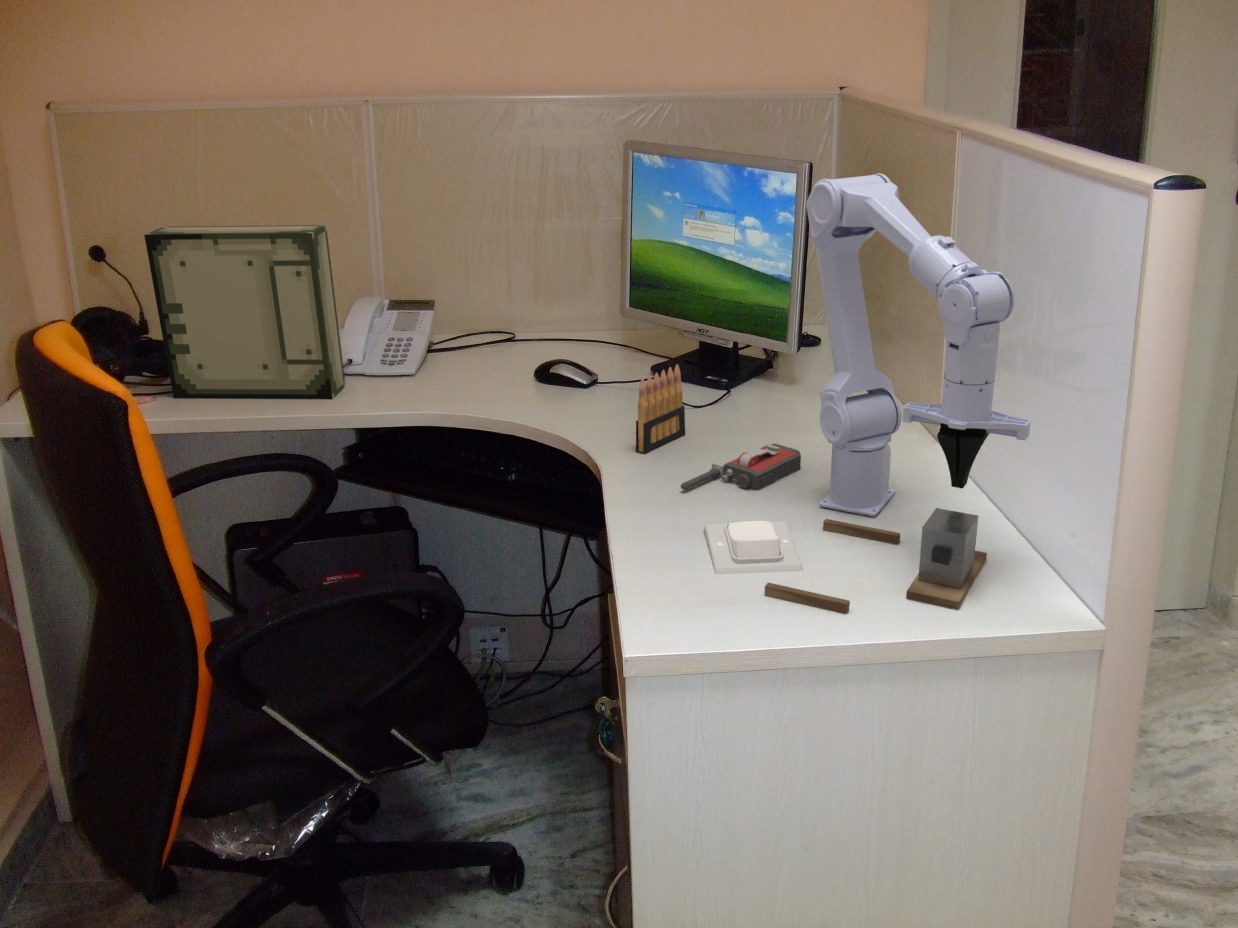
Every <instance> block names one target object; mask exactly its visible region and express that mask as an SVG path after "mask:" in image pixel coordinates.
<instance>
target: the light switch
mask: <svg viewBox="0 0 1238 928" xmlns="http://www.w3.org/2000/svg"><path fill="white" fill-rule="evenodd" d="M704 534H705V535H704V536H705V538H706V543H707V546H708V552H709V554H710V558H711V561H712V566H713V569H714V570H713V571H714V574H715V575H733V574H737V575H738V574H760V573H761V574H762V573H783V572H785V573H786V572H803V570H804V567H803V564H802V561H801V559H800V556H799V552H798V551H797V548H796V545H795V542H794V540H793V536H792V534H791V531H790V528H789V525H788V523H787V521H768V520H749V521H747V520H746V521H745V520H744V521H734V522H728V523H721V524H719V523H718V524H717V523H714V524H706V525H704Z"/></svg>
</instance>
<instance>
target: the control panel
mask: <svg viewBox="0 0 1238 928" xmlns="http://www.w3.org/2000/svg"><path fill="white" fill-rule="evenodd" d="M327 228H328V227H327V225H326V224H319V225H318V224H313V225H312V224H309V225H308V224H307V225H305V224H299V225H298V224H297V225H295V224H294V225H293V224H292V225H290V224H289V225H288V224H287V225H208V226H207V225H206V226H205V225H201V226H200V225H197V226H195V225H194V226H190V225H189V226H184V225H183V226H182V225H181V226H162V227H159V228H157V229H154V230H153V231H149V232H147V233H145V234H144V241H145V246H146V252H147V258H148V264H149V269H150V275H151V282H152V286H153V291H154V297H155V304H156V308H157V313H158V314H157V315H158V318H159V325H160V330H161V337H162V340H163V341H162V342H163V348H164V353H165V358H166V363H167V369H168V376H169V380H170V386H171V392H172V397H173V399H179V400H180V399H189V400H190V399H195V400H196V399H197V400H198V399H199V400H200V399H203V400H204V399H208V400H211V399H213V400H214V399H215V400H219V399H221V400H223V399H224V400H237V399H238V400H334V399H335V398H336V397H337V395H339V393H341V392H342V391H343V390H344V389H345V388H346V379H345V371H344V361H343V354H342V353H343V352H342V345H341V337H340V330H339V322H338V312H337V305H336V304H337V303H336V296H335V287H334V280H333V279H334V278H333V273H332V264H331V261H332V260H331V254H330V246H329V237H328V229H327Z"/></svg>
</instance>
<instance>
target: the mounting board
mask: <svg viewBox="0 0 1238 928" xmlns="http://www.w3.org/2000/svg"><path fill="white" fill-rule="evenodd" d="M987 556H988V552H985V551H980V550H975V556H974V566H973V570H972V572H971V573H970V575H969V577H968V579H967V580H966V582H965V584H964V585H963V587H962V589H961V590H959V589H955V588H950V587H945V586H940V585H935V584H931V583H926V582H921V581H918V576H919V572H918V573H917V575H916V576H915V578H914V579H913V580H912V582H911V583H910V585H909V587H908V588H907V589H906V594H905V596H906V597H905V599H908V600H912V601H917V602H920V603H925V604H930V605H934V606H938V607H939V606H940V607H944V608H949V609H954V610H956V611H957V610H959V609H960V608H961V605H962V604H963V602H964V600H965V598H966V597H967V595H968V593H969V592H970V590H971V588H972V586H973V584H974V583H975V581H976V579H977V577H978V575H979V574H980V571H981V570H982V568H983V567H984V565H985V563H986V562H987Z"/></svg>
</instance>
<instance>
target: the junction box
mask: <svg viewBox="0 0 1238 928" xmlns="http://www.w3.org/2000/svg"><path fill="white" fill-rule="evenodd" d="M978 524H979V515H978V514H973V513H967V512H966V513H965V512H960V511H955V510H950V509H944V508H940V507H939V508H938V507H935V509H934V510H933V511H932V513H931V515H930V516H929V517H928V519H927V520H926V521H925V523H924V524H923V526H922V527H921V529H922V530H921V539H920V540H921V542H920V551H919V552H920V555H919V566H918V567H919V568H918V573H919V576H918V581H921V582H926V583H931V584H935V585H940V586H945V587H950V588H955V589H959V590H961V589H962V587H963V585H964V584H965V582H966V580H967V579H968V577H969V575H970V573H971V572H972V570H973V566H974V556H975V551H976V545H977V536H978Z"/></svg>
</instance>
